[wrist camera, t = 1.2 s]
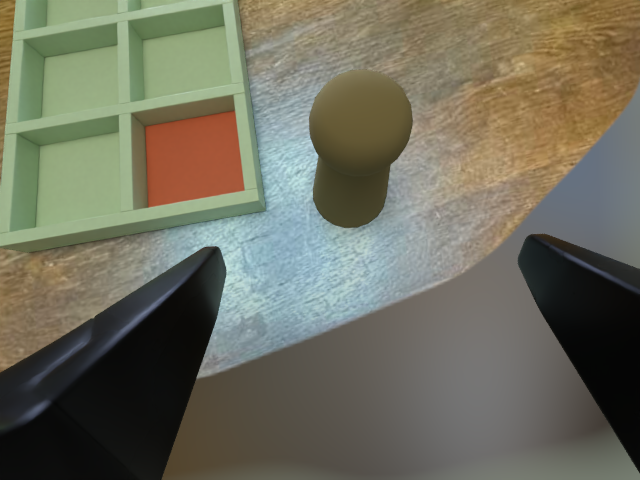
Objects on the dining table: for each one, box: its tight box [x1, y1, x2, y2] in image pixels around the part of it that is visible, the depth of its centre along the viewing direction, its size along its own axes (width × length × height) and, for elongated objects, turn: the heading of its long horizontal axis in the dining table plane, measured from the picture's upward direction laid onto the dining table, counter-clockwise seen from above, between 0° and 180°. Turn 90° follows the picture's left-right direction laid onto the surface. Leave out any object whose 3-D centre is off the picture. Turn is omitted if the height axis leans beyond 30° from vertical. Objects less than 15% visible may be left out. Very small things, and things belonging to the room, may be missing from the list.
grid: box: [0, 0, 266, 253], centre depth 27 cm, size 39×20×2 cm, turn 10°
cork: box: [309, 69, 413, 228], centre depth 19 cm, size 6×6×11 cm
